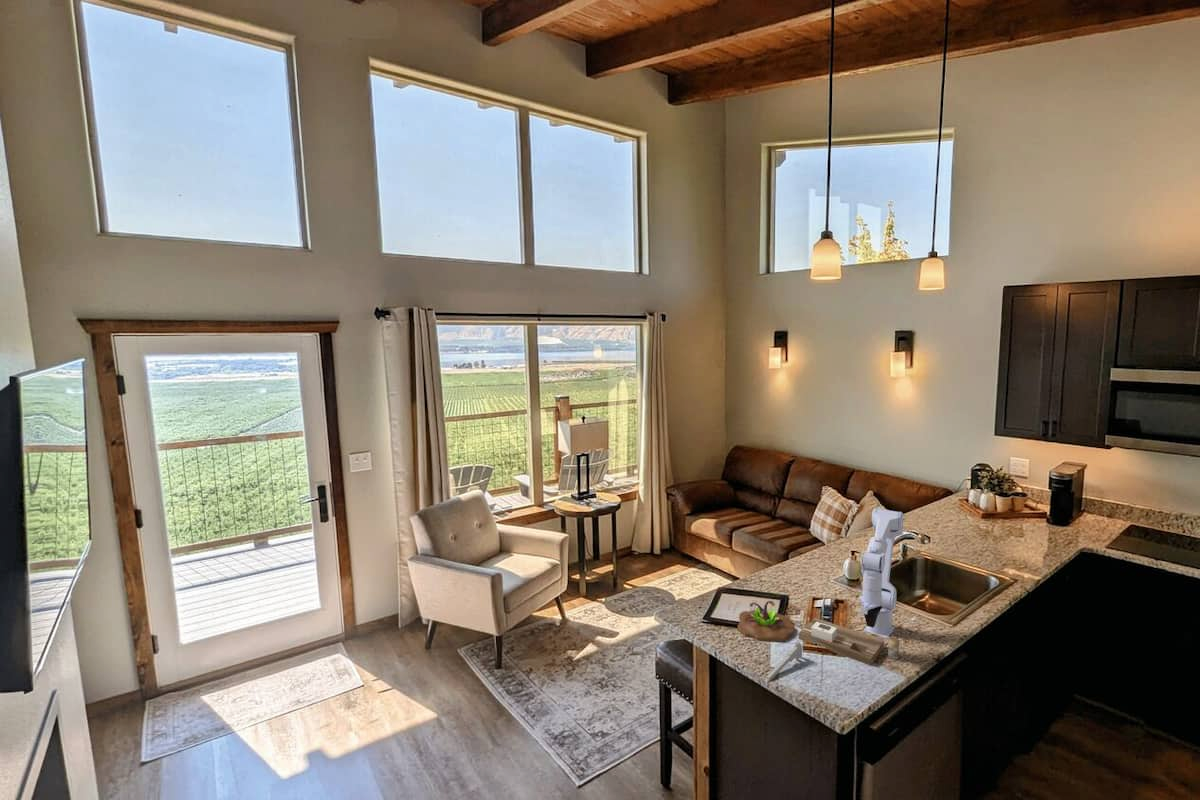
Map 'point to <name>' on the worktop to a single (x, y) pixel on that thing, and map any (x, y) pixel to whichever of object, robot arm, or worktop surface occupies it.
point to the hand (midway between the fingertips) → (870, 626)
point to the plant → (765, 624)
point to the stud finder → (824, 631)
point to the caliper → (786, 661)
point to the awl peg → (893, 648)
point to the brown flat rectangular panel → (846, 642)
